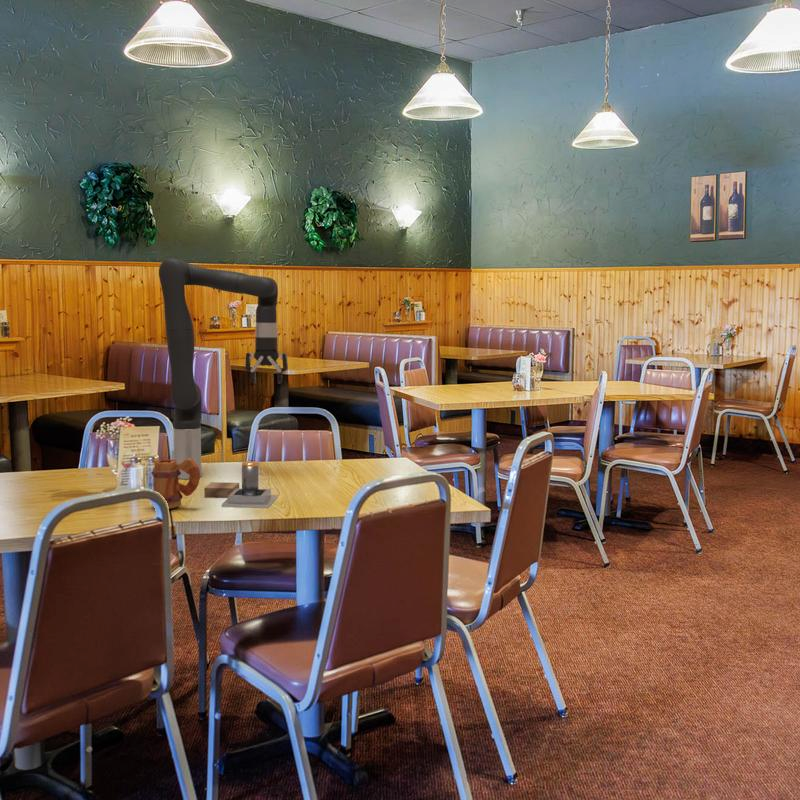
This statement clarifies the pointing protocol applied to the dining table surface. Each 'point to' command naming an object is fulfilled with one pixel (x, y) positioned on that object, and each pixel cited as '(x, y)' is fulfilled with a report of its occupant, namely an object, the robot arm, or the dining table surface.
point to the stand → (220, 489)
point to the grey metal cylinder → (250, 478)
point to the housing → (250, 499)
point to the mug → (175, 479)
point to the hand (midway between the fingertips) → (266, 383)
